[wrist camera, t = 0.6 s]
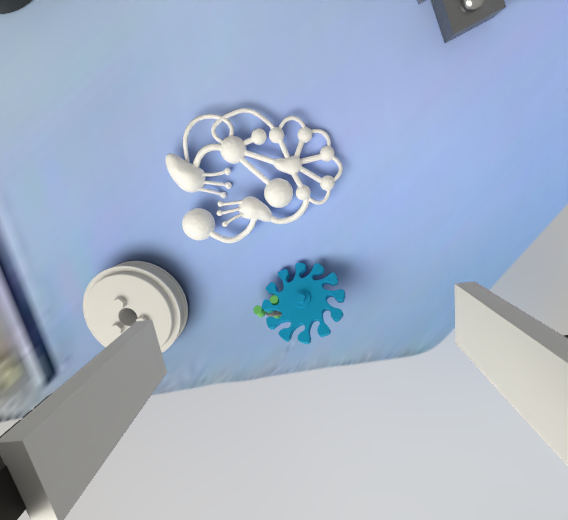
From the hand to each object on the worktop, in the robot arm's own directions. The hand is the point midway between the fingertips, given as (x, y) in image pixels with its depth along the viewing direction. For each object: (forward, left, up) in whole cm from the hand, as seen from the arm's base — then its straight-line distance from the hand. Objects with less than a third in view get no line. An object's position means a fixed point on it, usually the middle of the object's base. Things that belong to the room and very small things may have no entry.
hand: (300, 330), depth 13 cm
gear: (+7, -4, -26) cm, 27 cm away
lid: (0, -24, -26) cm, 35 cm away
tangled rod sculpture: (-9, -3, -26) cm, 28 cm away
